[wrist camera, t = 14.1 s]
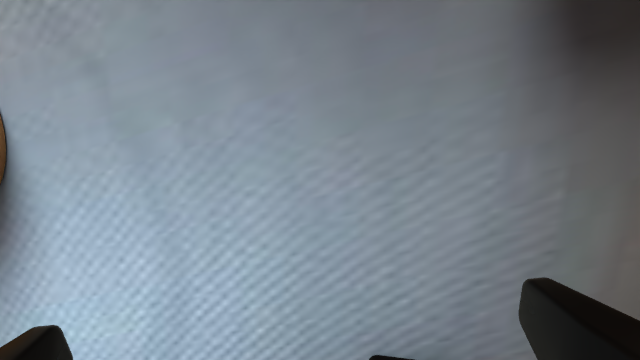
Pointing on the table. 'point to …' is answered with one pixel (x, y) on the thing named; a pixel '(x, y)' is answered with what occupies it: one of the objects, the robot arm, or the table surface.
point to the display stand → (2, 150)
